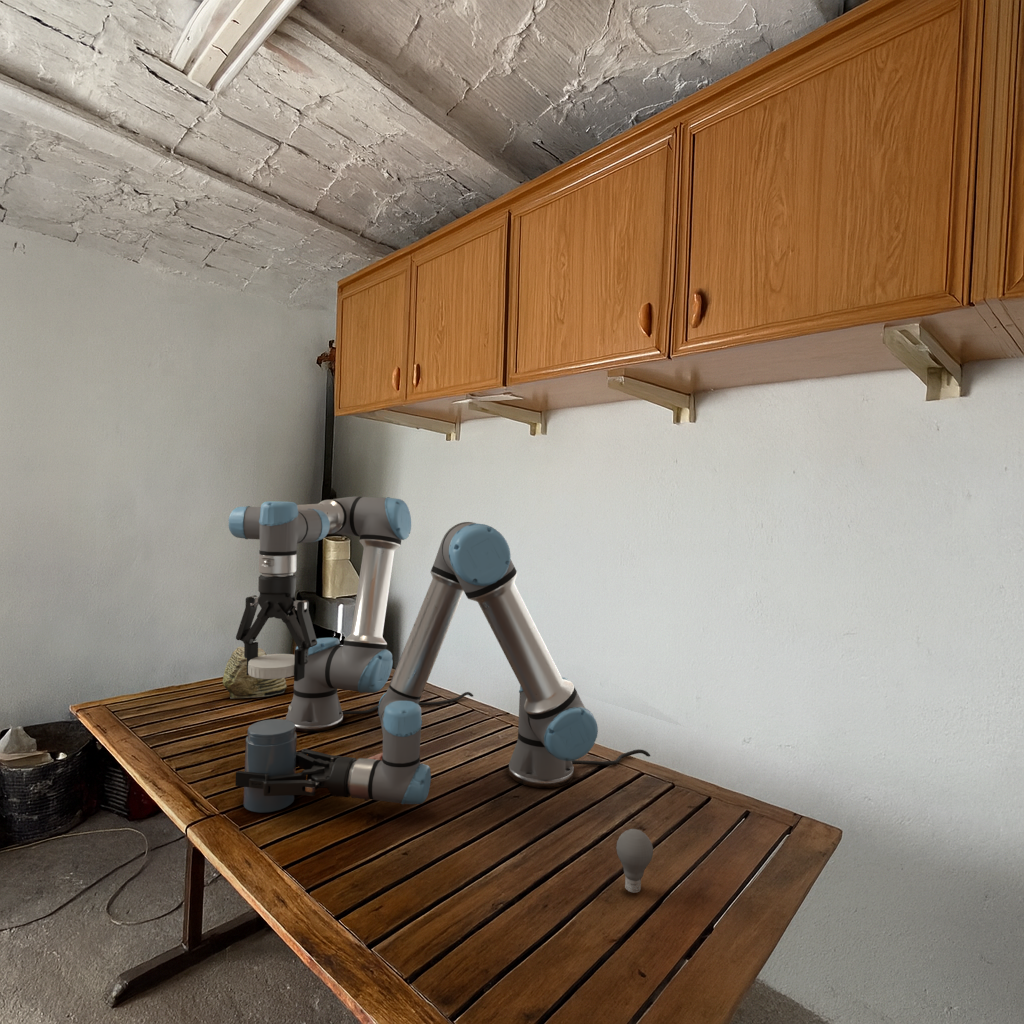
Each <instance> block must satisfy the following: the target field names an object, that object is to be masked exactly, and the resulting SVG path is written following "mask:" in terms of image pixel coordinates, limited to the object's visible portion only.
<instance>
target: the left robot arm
mask: <svg viewBox="0 0 1024 1024" xmlns="http://www.w3.org/2000/svg"><path fill="white" fill-rule="evenodd" d="M228 529H229V532H230V534H231V535H232V536H233V537H235V538H237V539H245V540H259V550H258V551H259V553H258V555H259V556H258V572H259V573H260V575H259V576H258V583H257V584H258V588H257V589H258V590H257V591H258V593H259V595H258V596H257V595H251V596H246V598H245V607H244V611H243V614H242V616H241V620H240V623H239V626H238V629H237V632H236V634H235V635H236V636H235V640H237V641H241V642H242V643H243V645H244V646H243V647H244V657H245V658H247V675H249V674H248V662H249V661H250V660H251V659H253V658H255V657H258V648H259V642H258V641H257V640H258V639H257V637H258V636H259V634H260V633H261V631H262V630H263V628H264V627H265V625H266V623H267V621H268V620H269V619H272V618H274V619H278V620H281V621H282V622H283V623H284V624H285V626H286V627H287V629H288V631H289V633H290V635H291V637H292V640H293V641H294V644H295V645H296V647H295V650H294V655H295V658H294V676H293V695H292V696H293V697H292V699H291V702H290V704H289V705H288V708H287V709H288V711H287V713H286V715H285V720H289V721H292V722H293V723H294V724H295V726H296V729H295V732H301V733H316V732H325V731H329V730H332V729H335V728H337V727H339V726H340V725H342V723H343V722H344V716H347V715H364V714H365V715H366V714H369V713H372V712H374V711H376V710H378V706H379V704H377V705H375V706H373V707H371V708H369V709H365V710H347V711H345V710H344V711H343V709H342V706H341V702H340V699H339V695H338V690H342V691H351V692H358V693H360V694H363V693H369V694H374V693H375V694H376V693H378V692H380V691H381V690H382V689H383V688H384V687H385V685H386V684H387V682H388V680H389V678H390V675H391V673H392V669H393V664H394V663H393V662H394V661H393V653H392V652H391V651H390V650H389V649H387V647H388V643H387V641H386V640H385V638H384V637H383V635H384V628H385V620H386V614H387V608H388V600H389V593H390V585H391V579H392V571H393V564H394V557H395V552H396V551H397V550H398V549H400V548H401V547H402V541H405V540H407V539H408V538H409V537H410V534H411V531H412V516H411V512H410V509H409V507H408V504H407V503H406V502H405V501H404V500H403V499H400V498H397V497H390V496H387V497H385V496H384V497H383V496H380V497H379V496H356V495H355V496H346V497H339V498H333V499H332V498H331V499H324V500H321V501H320V502H318V503H309V504H306V503H305V504H297V503H296V502H294V501H278V500H277V501H275V500H274V501H273V500H272V501H271V500H270V501H264V502H263V503H261V504H260V506H250V505H245V506H237V507H235V508H233V510H231V512H230V514H229V516H228ZM331 534H334V535H335V534H336V535H337V534H338V535H345V536H351V537H359V543H360V544H361V546H362V547H363V551H362V558H361V565H360V570H359V571H360V572H359V578H358V585H357V591H356V598H355V603H354V611H353V617H352V623H351V630H350V634H349V635H348V636H346V637H345V638H344V639H343V645H341V641H340V639H339V638H338V637H318V638H317V636H316V633H315V629H314V626H313V622H312V617H311V614H310V611H309V610H310V609H309V607H310V602H309V600H308V599H303V600H297V599H296V591H297V576H296V575H295V573H297V567H298V566H297V561H298V560H297V557H298V555H297V554H298V551H297V549H298V548H297V547H298V544H304V543H305V544H306V543H315V542H318V541H321V540H323V539H325V538H326V537H327V535H331ZM258 606H260V610H259V612H258V613H257V609H258ZM295 611H296V612H295ZM256 613H257V615H256ZM255 615H256V618H255ZM297 618H298V619H297ZM254 619H255V620H254ZM465 696H469V697H474V694H473V693H472V692H471V691H465V692H463V693H461V694H460V695H458V696H457V697H454V698H450V699H446V700H440V701H439V700H438V701H421V702H420V701H419V703H418V705H419V706H438V705H444V704H450V703H453V702H457V701H459V700H461V699H463V698H464V697H465Z"/></svg>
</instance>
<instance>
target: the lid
mask: <svg viewBox="0 0 1024 1024" xmlns="http://www.w3.org/2000/svg"><path fill="white" fill-rule="evenodd" d="M294 658H295V654H293V653H292V654H291V653H269V654H267V655H263V656H258V657H255V658H253V659H251V660H250V661H249V662H248V674H249V675H250V676H251V677H254V678H260V679H279V678H285V679H286V678H290V677H294Z"/></svg>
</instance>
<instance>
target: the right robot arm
mask: <svg viewBox="0 0 1024 1024" xmlns="http://www.w3.org/2000/svg"><path fill="white" fill-rule="evenodd" d="M443 535H444V536H443V537H442V539H441V541H440V545H439V547H438V551H437V553H436V556H435V559H434V561H433V564H432V567H431V569H430V575H431V577H432V579H431V581H430V584H429V586H428V589H427V591H426V594H425V596H424V599H423V601H422V603H421V606H420V609H419V610H418V614H417V616H416V617H415V621H414V623H413V626H412V627H411V631H410V633H409V636H408V638H407V640H406V642H405V645H404V647H403V651H402V653H401V654H400V657H399V660H398V662H397V665H396V667H395V670H394V672H393V675H392V677H391V679H390V682H389V685H388V688H387V690H386V692H384V693H383V695H381V697H380V699H379V702H378V705H379V706H378V709H377V714H378V719H379V721H380V726H381V732H382V753H383V756H382V760H375V759H367V758H366V757H365V758H364V757H359V758H356V757H352V756H341V755H332V754H328V753H323V752H319V751H316V750H312V749H307V748H302V749H301V751H296V769H297V768H300V769H303V770H302V771H301V772H295V773H294V774H286V775H278V776H270V777H269V773H266V774H264V773H254V772H245V770H237V771H236V772H235V783H234V784H235V785H234V786H235V787H241V788H244V787H251V788H260V789H264V790H263V795H264V796H284V795H295V796H306V797H307V796H308V797H315V796H316V792H317V791H316V790H318V789H328V791H329V793H330V795H331V796H332V797H337V798H339V797H340V798H350V797H351V798H352V799H358V800H359V799H361V800H363V801H366V802H368V801H378V802H388V803H395V804H401V805H421V804H424V802H425V801H426V800H427V799H428V796H429V793H430V788H431V783H432V782H431V780H432V772H431V771H432V770H431V767H430V765H428V764H425V763H423V762H421V755H420V754H421V736H422V725H423V720H422V708H421V705H418V703H419V702H420V700H421V698H422V696H423V693H424V690H425V688H426V685H427V683H428V681H429V678H430V676H431V673H432V670H433V668H434V666H435V664H436V661H437V658H438V655H439V653H440V651H441V648H442V646H443V643H444V641H445V639H446V636H447V635H448V631H449V629H450V626H451V623H452V621H453V619H454V617H455V614H456V611H457V609H458V607H459V604H460V602H461V599H462V598H463V594H465V596H466V598H467V599H468V600H470V601H474V602H477V604H478V606H479V607H480V609H481V612H482V614H483V615H484V617H485V619H486V621H487V623H488V625H489V627H490V629H491V631H492V632H493V635H494V637H495V639H496V640H497V643H498V644H499V646H500V649H501V650H502V652H503V654H504V656H505V658H506V661H507V662H508V664H509V666H510V668H511V669H512V672H513V674H514V676H515V678H516V679H517V681H518V683H519V685H520V686H519V690H518V693H519V698H518V699H519V701H518V726H517V741H516V744H515V746H514V749H513V752H512V754H511V757H510V759H509V762H508V775H509V777H510V778H511V779H512V780H513V781H515V782H516V783H519V784H521V785H523V786H528V787H531V788H539V789H551V788H552V789H553V788H558V787H562V786H565V785H567V784H569V783H571V782H572V780H573V778H574V765H583V766H584V765H585V766H604V767H605V766H614V765H617V764H619V763H620V762H621V761H622V760H623V759H625V758H627V757H630V756H633V755H637V754H643V755H644V756H645V757H648V758H649V757H651V754H650V752H648V751H647V750H644V749H633V750H630V751H627V752H625V753H621V754H620V755H618V757H617V758H616V759H614V760H609V761H603V760H601V761H600V760H583V759H582V760H579V759H581V758H583V757H584V756H586V755H587V754H588V753H589V752H590V751H591V750H592V749H593V747H594V746H595V744H596V740H597V738H598V733H599V727H598V723H597V720H596V718H595V716H594V714H593V713H592V712H591V711H590V710H589V709H587V708H586V707H585V705H584V703H583V701H582V699H581V697H580V695H579V693H578V691H577V689H576V687H575V685H574V684H573V682H572V681H571V680H569V679H568V678H567V677H564V676H562V675H561V673H560V671H559V669H558V667H557V665H556V663H555V660H554V659H553V657H552V655H551V653H550V651H549V649H548V647H547V645H546V643H545V641H544V639H543V637H542V635H541V633H540V631H539V629H538V627H537V625H536V623H535V621H534V619H533V617H532V615H531V613H530V610H528V607H527V605H526V603H525V601H524V599H523V597H522V595H521V593H520V591H519V588H518V587H517V585H516V583H515V582H516V579H517V577H518V571H517V569H516V567H515V565H514V563H513V561H512V559H511V557H512V556H511V555H512V554H511V549H510V545H509V543H508V541H507V540H506V538H505V537H504V535H503V534H502V533H500V531H498V530H497V528H496V529H495V528H494V527H492V525H491V526H490V525H488V524H485V523H477V522H473V521H463V522H459V523H456V524H455V525H453V526H451V528H449V529H448V530H447V531H446V532H445V534H443Z"/></svg>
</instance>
